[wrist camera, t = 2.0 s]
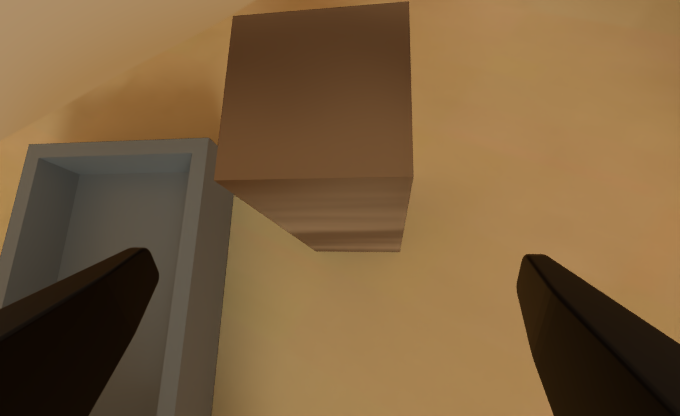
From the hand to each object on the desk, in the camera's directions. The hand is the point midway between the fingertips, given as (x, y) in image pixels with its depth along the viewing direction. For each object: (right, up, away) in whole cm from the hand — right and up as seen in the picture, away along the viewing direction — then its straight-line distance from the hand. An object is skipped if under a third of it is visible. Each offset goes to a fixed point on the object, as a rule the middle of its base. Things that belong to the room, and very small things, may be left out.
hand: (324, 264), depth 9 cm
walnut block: (+1, +1, +11) cm, 12 cm away
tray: (-11, -4, +12) cm, 17 cm away
